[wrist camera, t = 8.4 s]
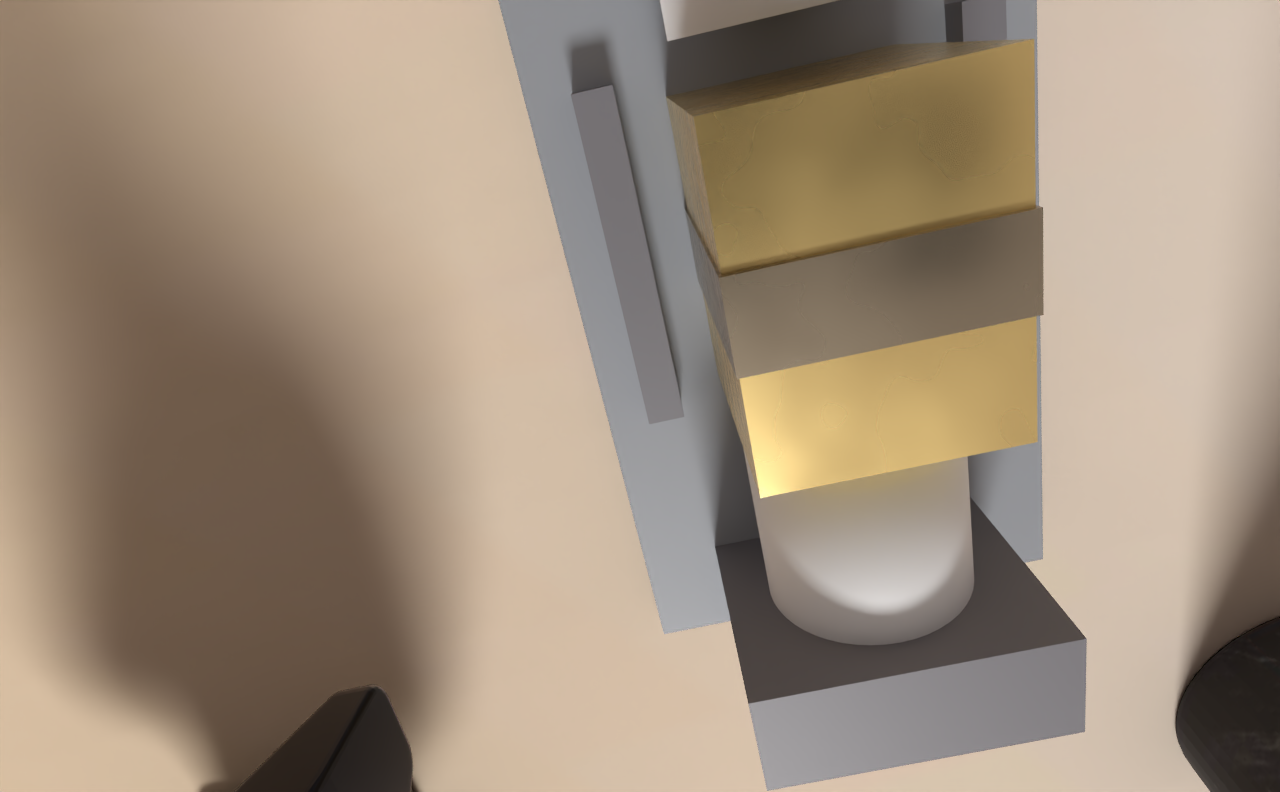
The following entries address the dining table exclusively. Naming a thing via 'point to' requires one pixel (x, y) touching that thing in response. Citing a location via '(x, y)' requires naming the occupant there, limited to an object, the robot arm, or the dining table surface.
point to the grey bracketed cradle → (710, 444)
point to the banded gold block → (870, 256)
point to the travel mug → (1236, 715)
